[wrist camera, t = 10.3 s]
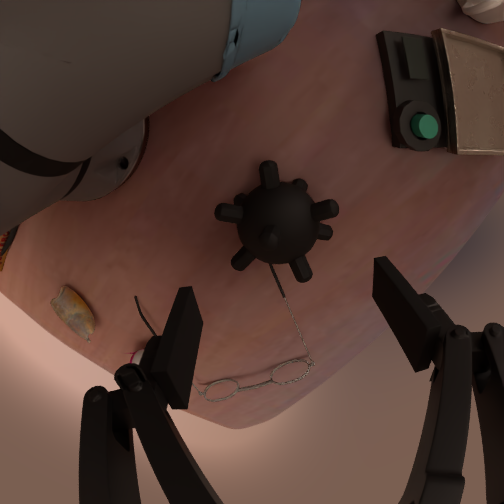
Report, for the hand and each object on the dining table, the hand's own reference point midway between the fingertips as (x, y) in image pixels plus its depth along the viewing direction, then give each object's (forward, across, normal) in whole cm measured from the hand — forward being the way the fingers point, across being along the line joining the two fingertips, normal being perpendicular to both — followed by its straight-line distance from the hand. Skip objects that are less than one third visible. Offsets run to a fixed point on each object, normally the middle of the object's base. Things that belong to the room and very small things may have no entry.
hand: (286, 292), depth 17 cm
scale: (+16, +24, +12) cm, 31 cm away
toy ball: (+16, +1, +1) cm, 16 cm away
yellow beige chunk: (+16, -27, -8) cm, 33 cm away
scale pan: (+12, +24, +12) cm, 30 cm away
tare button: (+13, +17, +8) cm, 22 cm away
